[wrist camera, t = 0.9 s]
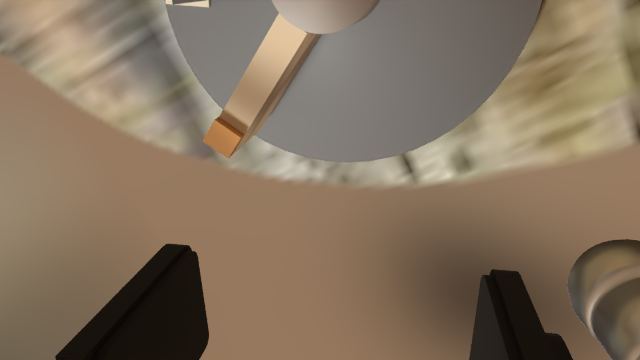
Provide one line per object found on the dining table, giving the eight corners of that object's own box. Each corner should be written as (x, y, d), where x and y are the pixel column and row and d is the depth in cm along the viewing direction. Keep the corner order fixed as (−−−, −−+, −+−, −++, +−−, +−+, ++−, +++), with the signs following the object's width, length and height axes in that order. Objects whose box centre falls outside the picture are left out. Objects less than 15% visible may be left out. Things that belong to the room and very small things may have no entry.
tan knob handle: (328, -92, 23) (303, -123, 17) (403, -35, 23) (403, -47, 18) (221, 97, 28) (174, 121, 22) (284, 141, 29) (255, 176, 23)
